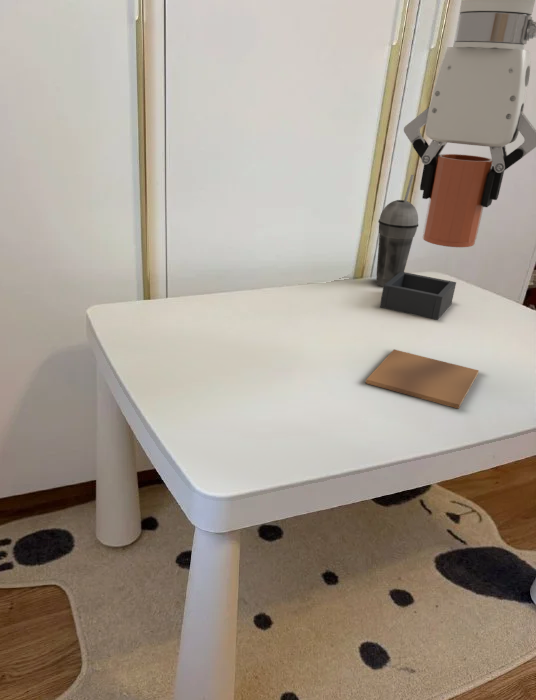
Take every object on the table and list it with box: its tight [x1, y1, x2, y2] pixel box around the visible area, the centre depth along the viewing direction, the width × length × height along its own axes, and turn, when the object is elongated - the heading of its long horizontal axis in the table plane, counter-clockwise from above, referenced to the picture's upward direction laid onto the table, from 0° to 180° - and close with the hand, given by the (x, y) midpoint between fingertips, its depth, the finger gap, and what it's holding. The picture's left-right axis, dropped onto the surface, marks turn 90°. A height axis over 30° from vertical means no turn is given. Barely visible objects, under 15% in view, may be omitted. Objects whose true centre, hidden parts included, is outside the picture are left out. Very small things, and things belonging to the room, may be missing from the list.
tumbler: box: [422, 153, 493, 248], centre depth 78 cm, size 6×6×10 cm
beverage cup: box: [375, 174, 419, 287], centre depth 117 cm, size 7×7×20 cm
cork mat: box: [365, 349, 480, 410], centre depth 84 cm, size 12×12×1 cm
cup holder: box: [379, 271, 457, 321], centre depth 110 cm, size 10×10×4 cm
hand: (456, 200), depth 78 cm, fingers closed on tumbler, 6 cm apart
